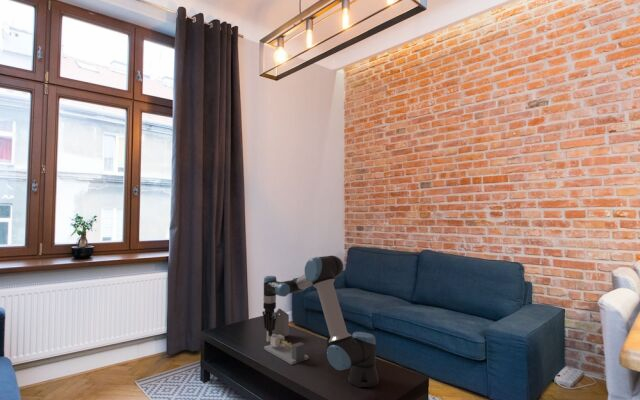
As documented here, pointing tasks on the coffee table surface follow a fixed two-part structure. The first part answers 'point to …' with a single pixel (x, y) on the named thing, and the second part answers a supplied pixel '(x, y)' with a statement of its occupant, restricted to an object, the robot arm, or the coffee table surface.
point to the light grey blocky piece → (288, 351)
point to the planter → (281, 323)
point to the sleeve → (277, 340)
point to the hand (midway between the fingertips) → (269, 340)
